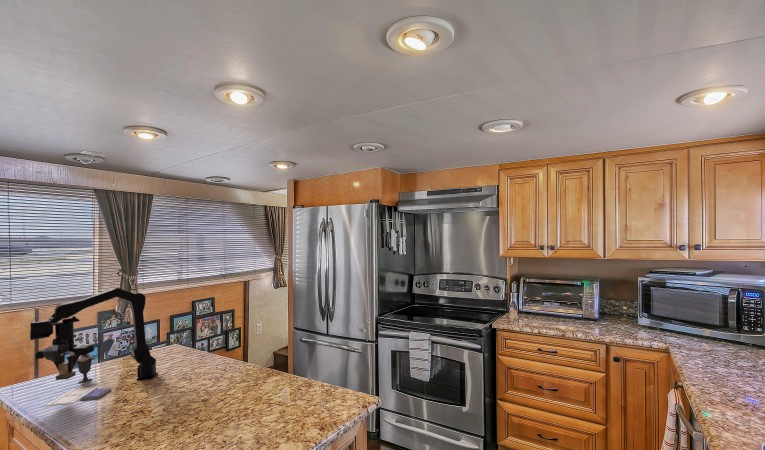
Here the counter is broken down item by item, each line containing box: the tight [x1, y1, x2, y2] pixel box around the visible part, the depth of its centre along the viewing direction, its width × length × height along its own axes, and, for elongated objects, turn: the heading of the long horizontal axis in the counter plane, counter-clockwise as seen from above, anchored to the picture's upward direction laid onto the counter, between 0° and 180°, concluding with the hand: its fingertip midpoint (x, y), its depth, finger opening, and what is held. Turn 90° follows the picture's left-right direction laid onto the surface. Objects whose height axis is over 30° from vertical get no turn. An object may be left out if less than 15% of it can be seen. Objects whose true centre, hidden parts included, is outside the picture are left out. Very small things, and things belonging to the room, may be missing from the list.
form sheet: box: [44, 385, 100, 407], centre depth 152 cm, size 10×16×1 cm, turn 6°
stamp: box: [55, 361, 77, 381], centre depth 148 cm, size 4×4×6 cm
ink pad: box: [79, 387, 112, 401], centre depth 151 cm, size 7×8×1 cm
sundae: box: [76, 353, 95, 384], centre depth 167 cm, size 7×7×15 cm
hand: (65, 372), depth 148 cm, fingers closed on stamp, 3 cm apart
